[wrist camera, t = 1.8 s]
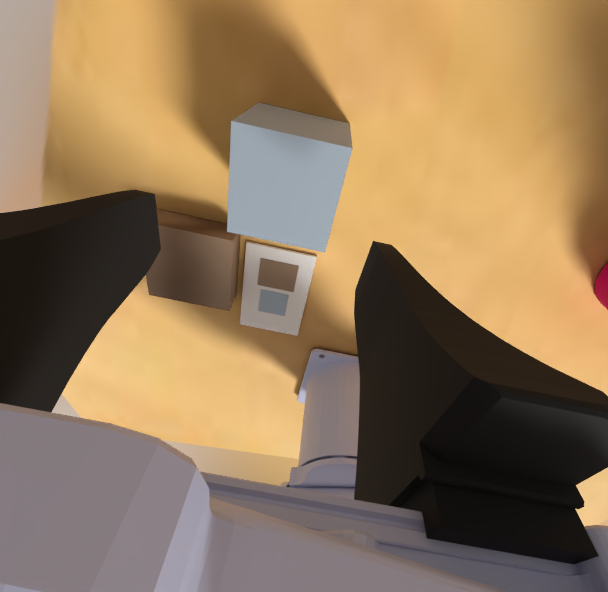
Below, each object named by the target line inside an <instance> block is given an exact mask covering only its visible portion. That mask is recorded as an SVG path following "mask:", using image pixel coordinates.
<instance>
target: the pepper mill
mask: <svg viewBox="0 0 608 592" xmlns="http://www.w3.org/2000/svg"><path fill="white" fill-rule="evenodd" d="M595 294H596V297H597V299H598V300H599V301H600V302H601V304H602V305H603V306H604V307H606V308H607V309H608V263H607V264H606V265H605V267H604V268H603V269H602V270H601V272H600V274H599V276H598V277H597V280H596V284H595Z"/></svg>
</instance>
